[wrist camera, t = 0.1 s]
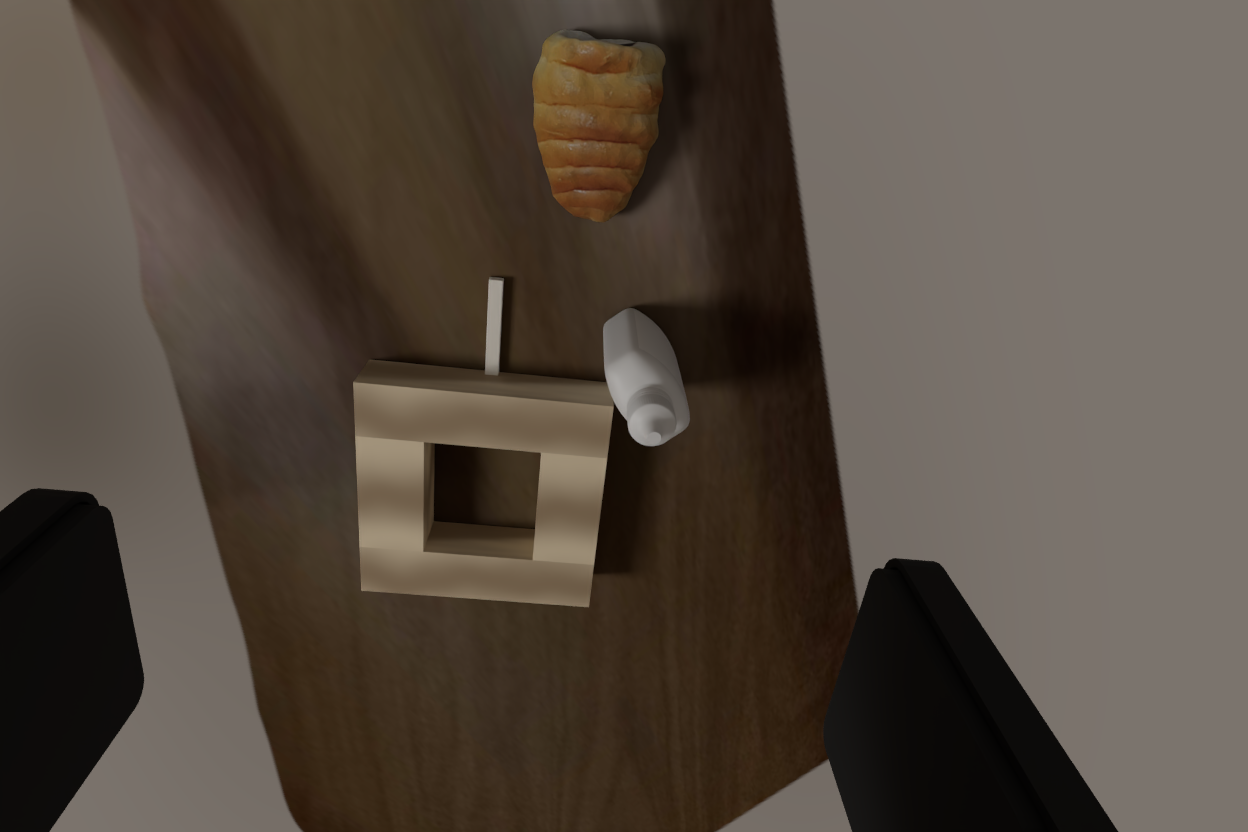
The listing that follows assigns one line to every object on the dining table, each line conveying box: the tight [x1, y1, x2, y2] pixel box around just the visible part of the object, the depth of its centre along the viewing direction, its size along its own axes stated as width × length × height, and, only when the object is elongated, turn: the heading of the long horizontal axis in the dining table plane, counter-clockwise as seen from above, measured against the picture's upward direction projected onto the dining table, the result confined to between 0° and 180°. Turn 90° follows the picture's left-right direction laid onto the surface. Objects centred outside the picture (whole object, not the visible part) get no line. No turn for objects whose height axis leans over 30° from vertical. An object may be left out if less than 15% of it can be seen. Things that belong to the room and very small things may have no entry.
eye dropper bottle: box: [603, 308, 690, 446], centre depth 42 cm, size 4×6×12 cm
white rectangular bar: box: [485, 277, 504, 376], centre depth 46 cm, size 6×1×1 cm, turn 173°
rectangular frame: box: [353, 360, 614, 607], centre depth 49 cm, size 15×15×4 cm
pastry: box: [532, 30, 666, 222], centre depth 40 cm, size 9×7×4 cm
